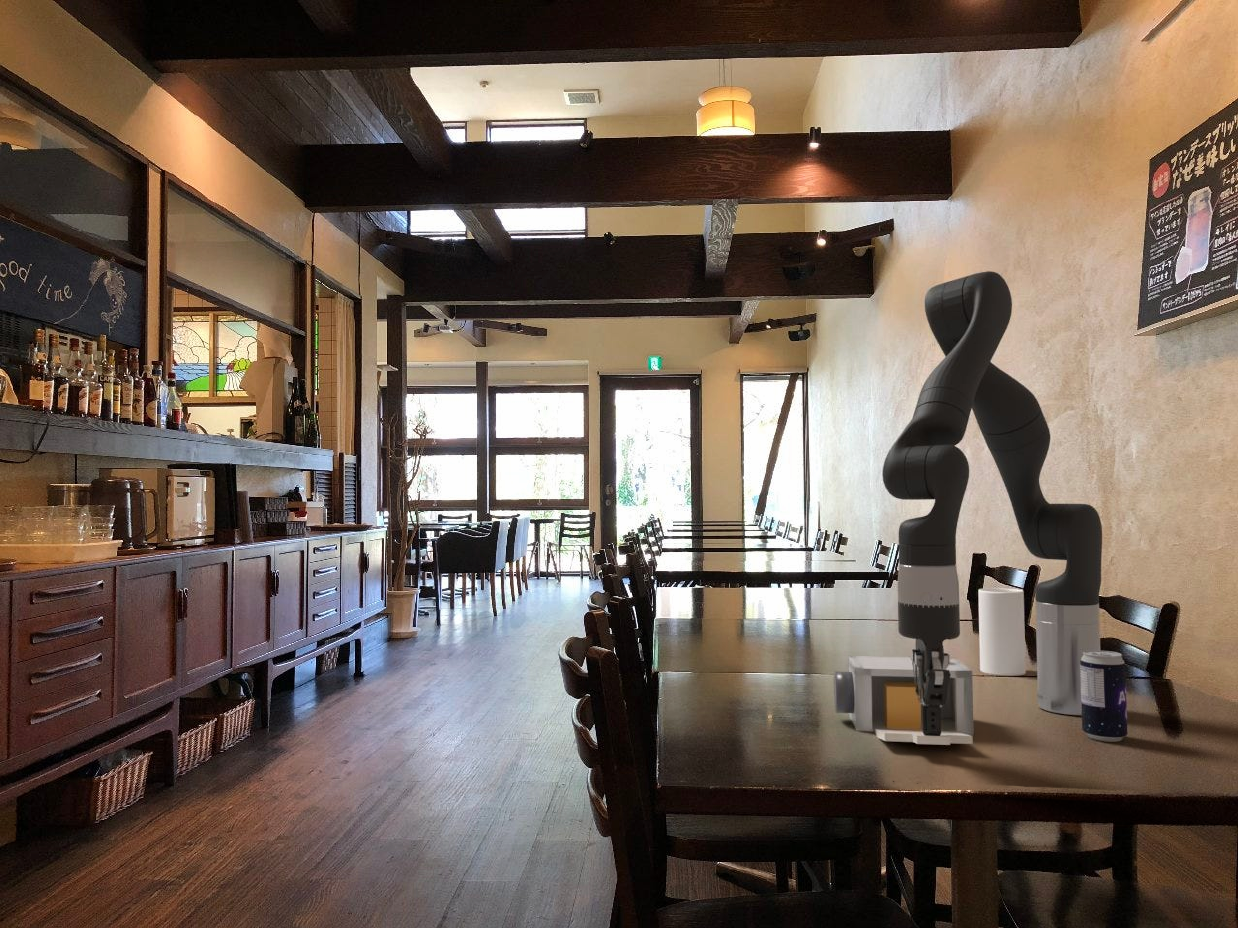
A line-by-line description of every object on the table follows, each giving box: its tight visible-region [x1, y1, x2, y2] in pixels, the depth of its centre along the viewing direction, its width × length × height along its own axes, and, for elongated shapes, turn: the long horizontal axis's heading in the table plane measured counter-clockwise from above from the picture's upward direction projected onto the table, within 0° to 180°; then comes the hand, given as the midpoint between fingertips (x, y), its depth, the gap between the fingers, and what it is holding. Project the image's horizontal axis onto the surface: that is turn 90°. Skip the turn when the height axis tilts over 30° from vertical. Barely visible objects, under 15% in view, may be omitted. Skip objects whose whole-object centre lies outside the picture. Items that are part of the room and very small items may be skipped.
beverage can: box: [1080, 649, 1129, 743], centre depth 125 cm, size 6×6×12 cm
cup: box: [977, 587, 1027, 677], centre depth 173 cm, size 8×8×16 cm
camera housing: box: [833, 653, 974, 735], centre depth 130 cm, size 18×10×11 cm, turn 81°
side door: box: [874, 728, 974, 746], centre depth 117 cm, size 11×1×13 cm
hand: (931, 734), depth 113 cm, fingers closed
